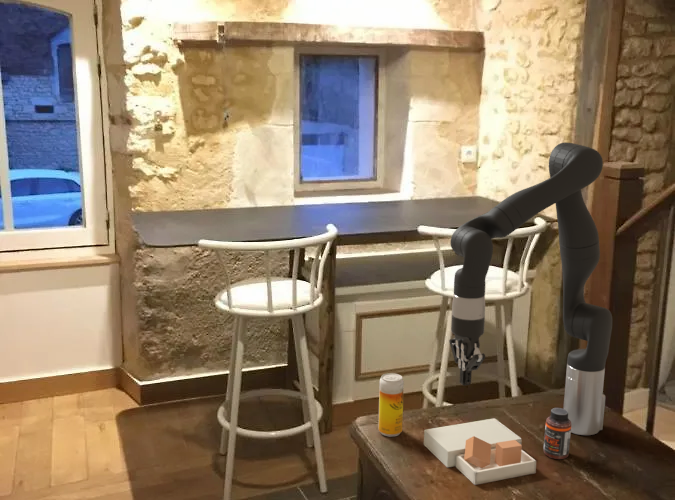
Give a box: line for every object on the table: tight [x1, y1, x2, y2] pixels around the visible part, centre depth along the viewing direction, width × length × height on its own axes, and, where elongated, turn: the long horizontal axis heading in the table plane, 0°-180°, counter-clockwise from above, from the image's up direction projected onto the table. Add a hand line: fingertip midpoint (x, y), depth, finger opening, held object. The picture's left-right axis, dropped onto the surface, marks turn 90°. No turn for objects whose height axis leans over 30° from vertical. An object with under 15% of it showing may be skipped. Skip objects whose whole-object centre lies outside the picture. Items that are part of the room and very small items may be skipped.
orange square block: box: [464, 436, 491, 468], centre depth 173 cm, size 5×5×3 cm
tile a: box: [495, 440, 523, 467], centre depth 175 cm, size 5×5×3 cm
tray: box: [455, 448, 537, 486], centre depth 173 cm, size 16×8×3 cm, turn 110°
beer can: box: [377, 372, 405, 438], centre depth 190 cm, size 6×6×15 cm
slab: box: [423, 417, 522, 468], centre depth 183 cm, size 20×12×4 cm, turn 110°
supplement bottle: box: [543, 407, 572, 460], centre depth 180 cm, size 6×6×11 cm
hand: (465, 383), depth 176 cm, fingers closed
